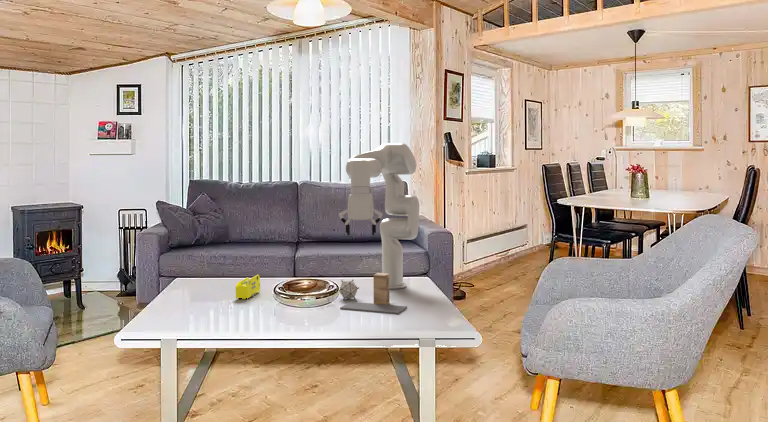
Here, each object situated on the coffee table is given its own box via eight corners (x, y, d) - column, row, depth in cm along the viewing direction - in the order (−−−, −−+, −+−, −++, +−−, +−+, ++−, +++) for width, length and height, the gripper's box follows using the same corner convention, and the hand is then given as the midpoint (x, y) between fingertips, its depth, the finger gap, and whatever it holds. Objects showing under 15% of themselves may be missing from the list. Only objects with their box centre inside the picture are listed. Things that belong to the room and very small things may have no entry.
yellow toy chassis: (248, 300, 245) (247, 280, 245) (235, 300, 246) (234, 280, 245) (261, 292, 261) (260, 273, 261) (248, 292, 262) (248, 273, 261)
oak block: (378, 301, 242) (377, 272, 241) (389, 302, 240) (389, 273, 239) (373, 304, 237) (373, 275, 236) (385, 305, 236) (385, 275, 235)
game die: (351, 308, 246) (355, 292, 240) (333, 300, 247) (336, 284, 241) (359, 294, 253) (363, 278, 246) (341, 286, 254) (345, 270, 248)
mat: (351, 303, 240) (351, 301, 240) (407, 307, 231) (407, 306, 231) (340, 309, 230) (340, 307, 230) (398, 314, 222) (398, 312, 221)
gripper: (382, 190, 233) (383, 233, 234) (339, 190, 233) (339, 233, 235) (382, 191, 226) (382, 235, 227) (337, 191, 226) (338, 236, 227)
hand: (360, 234), depth 231 cm, fingers open, 9 cm apart
